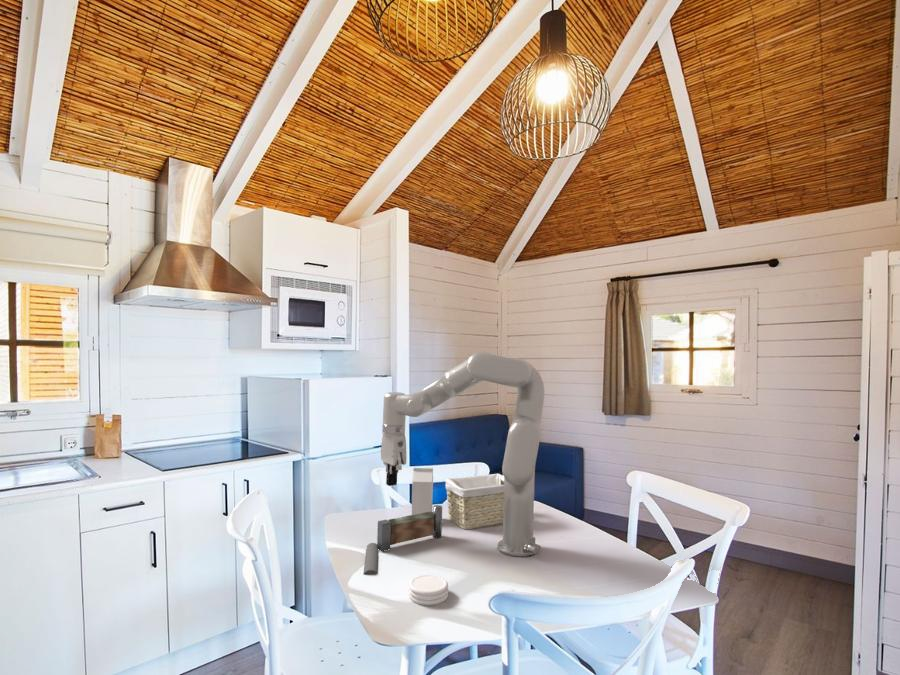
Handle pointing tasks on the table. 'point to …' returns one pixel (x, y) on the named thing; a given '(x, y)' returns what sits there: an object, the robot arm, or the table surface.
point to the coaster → (428, 590)
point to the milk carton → (422, 490)
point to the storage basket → (476, 500)
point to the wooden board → (411, 527)
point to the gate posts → (385, 529)
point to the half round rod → (371, 559)
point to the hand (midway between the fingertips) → (391, 484)
